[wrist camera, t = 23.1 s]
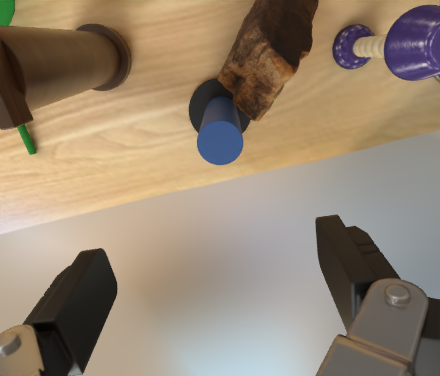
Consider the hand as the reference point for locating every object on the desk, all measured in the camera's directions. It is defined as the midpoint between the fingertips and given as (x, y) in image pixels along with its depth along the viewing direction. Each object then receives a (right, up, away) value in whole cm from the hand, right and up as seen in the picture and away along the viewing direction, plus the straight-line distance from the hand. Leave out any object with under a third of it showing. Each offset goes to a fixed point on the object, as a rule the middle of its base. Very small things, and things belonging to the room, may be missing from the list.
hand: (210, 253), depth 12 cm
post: (-12, +16, +22) cm, 30 cm away
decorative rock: (+5, +17, +22) cm, 28 cm away
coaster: (0, +11, +24) cm, 27 cm away
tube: (0, +8, +19) cm, 21 cm away
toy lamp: (+14, +17, +22) cm, 31 cm away
